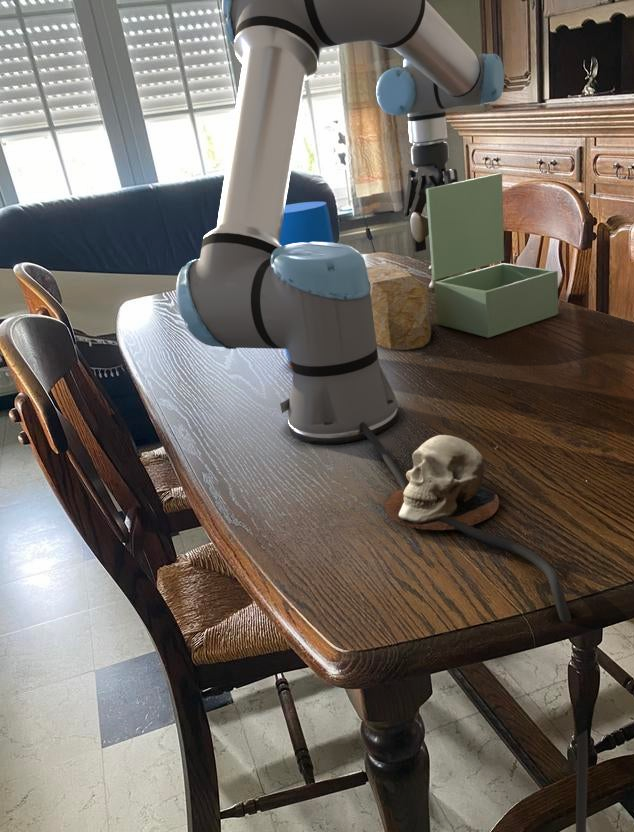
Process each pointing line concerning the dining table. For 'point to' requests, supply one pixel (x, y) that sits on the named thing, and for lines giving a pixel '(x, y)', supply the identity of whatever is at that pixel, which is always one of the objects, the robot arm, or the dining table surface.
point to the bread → (399, 308)
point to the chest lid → (465, 225)
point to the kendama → (422, 235)
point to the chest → (496, 299)
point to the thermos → (305, 226)
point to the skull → (443, 487)
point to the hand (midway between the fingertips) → (438, 253)
